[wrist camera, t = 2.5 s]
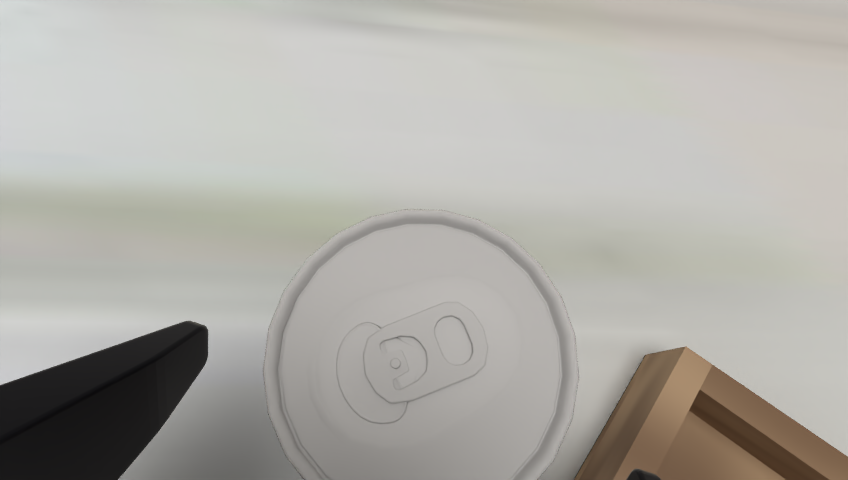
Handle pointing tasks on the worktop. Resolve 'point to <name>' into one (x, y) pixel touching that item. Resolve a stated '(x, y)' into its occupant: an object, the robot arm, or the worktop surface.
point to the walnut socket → (704, 430)
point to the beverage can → (420, 355)
